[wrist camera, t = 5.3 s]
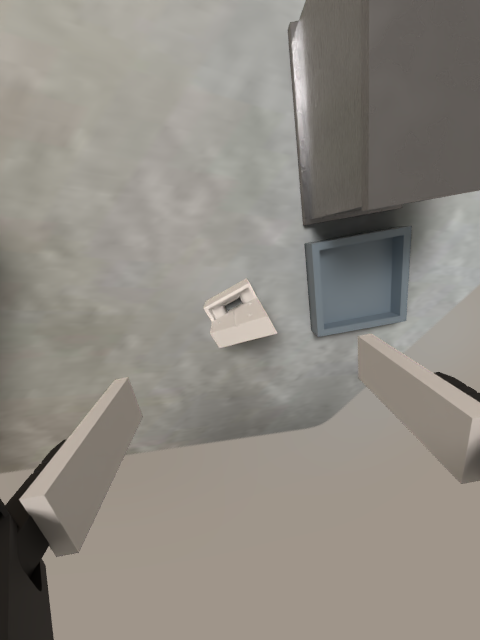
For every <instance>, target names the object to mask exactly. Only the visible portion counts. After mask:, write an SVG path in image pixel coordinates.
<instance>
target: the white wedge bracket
mask: <svg viewBox="0 0 480 640" xmlns="http://www.w3.org/2000/svg"><path fill="white" fill-rule="evenodd" d="M238 298H240V299H241V300H242V302H243V303H242V304H240V305H238V306H236V307H235V308H233V309H231V310H229V311H227V309H226V308H225V305H227V304H229V303H231V302H232V301H234V300H236V299H238ZM204 310H205V311H206V313H207V315H208V316H209V318H210V319H211V321H212V325H211V331H210V334H211V335H212V337H213V339H214V340H215V342H216V343H217V345H218V346H219V348H222V347H226V346H230V345H234V344H238V343H242V342H245V341H249V340H253V339H257V338H261V337H265V336H269V335H273V334H277V332H276V330H275V328H274V326H273V324H272V322H271V321H270V319H269V317H268V315H267V313H266V312H265V310H264V308H263V306H262V305H261V303H260V301H259V300H258V298H257V296H256V294H255V292H254V290H253V289H252V287H251V285H250V283H249V281H248V280H247V278H246V279H245V280H243V281H241V282H239V283H238V284H236V285H234V286H232V287H230V288H229V289H227V290H225V291H223V292H221V293H220V294H218V295H216V296H214V297H212V298H211V299H209V300H207V301H205V305H204Z"/></svg>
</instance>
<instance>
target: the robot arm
mask: <svg viewBox="0 0 480 640" xmlns="http://www.w3.org/2000/svg"><path fill="white" fill-rule="evenodd" d="M358 378H359V379H360V380H361V381H362V382H363V383H364V384H365V385H366V386H367V387H368V388H369V389H370V390H371V391H372V392H373V393H374V394H375V396H376V397H377V398H378V399H379V400H380V401H381V402H382V403H383V404H384V405H385V406H386V407H387V408H388V409H389V410H390V411H391V412H392V413H393V414H394V415H395V416H396V417H397V418H398V419H399V420H400V421H401V422H402V423H403V424H404V425H405V426H406V428H408V430H410V432H411V433H413V435H414V436H415V437H416V438H417V439H418V440H419V441H420V442H421V443H422V444H423V445H424V446H425V447H426V448H427V449H428V450H429V451H430V452H431V453H432V454H433V455H434V456H435V457H436V458H437V459H438V461H439V462H440V463H441V464H442V465H444V467H445V468H446V469H447V470H448V471H449V472H450V473H451V474H452V475H453V476H454V477H455V478H456V479H457V480H458V481H459V482H460V483H461V484H463V483H469V482H474V481H480V393H477V391H475V390H474V389H472V388H471V387H467V386H466V385H465V384H464V383H462V382H460V381H459V380H457V379H455V378H454V377H451V376H448V375H446V374H443V373H440V372H436V373H432V372H431V371H429V370H428V369H426V368H425V367H423V366H421V365H420V364H418V363H417V362H415V361H414V360H412V359H410V358H409V357H407V356H406V355H404V354H403V353H401V352H399V351H398V350H396V349H395V348H393V347H392V346H390V345H388V344H387V343H385V342H384V341H382V340H381V339H379V338H377V337H376V336H374V335H373V334H366V335H361V336H358ZM142 417H143V416H142V413H141V410H140V408H139V405H138V402H137V399H136V397H135V394H134V391H133V388H132V386H131V383H130V380H129V377H126V378H121V379H115V380H114V381H113V383H112V384H111V385H110V386H109V388H108V389H107V390H106V391H105V393H104V394H103V395H102V396H101V398H100V399H99V400H98V401H97V403H96V404H95V405H94V406H93V408H92V409H91V410H90V411H89V413H88V414H87V415H86V417H85V418H84V419H83V420H82V422H81V423H80V424H79V425H78V427H77V428H76V429H75V430H74V432H73V433H72V434H71V435H70V437H69V438H68V439H67V440H63V441H62V442H61V443H60V444H58V445H57V446H56V447H55V448H53V449H52V450H51V451H50V452H49V454H48V455H47V456H46V457H45V458H44V460H43V461H42V463H41V464H39V466H38V467H37V468H36V469H35V470H34V473H33V474H31V475H30V476H29V478H28V479H27V480H26V481H25V482H24V484H23V485H22V486H21V487H20V488H19V490H18V491H17V492H16V493H15V494H14V496H13V497H12V498H11V499H10V500H9V502H8V503H7V504H6V505H4V503H3V502H2V501H1V499H0V640H54V639H53V631H52V621H51V613H50V603H49V594H48V585H47V576H46V566H45V564H44V562H43V560H42V559H41V558H42V557H43V555H44V553H45V552H46V550H47V548H48V546H50V548H51V549H52V551H53V552H54V554H55V555H56V557H57V556H63V555H69V554H74V553H79V551H80V549H81V547H82V544H83V542H84V540H85V538H86V536H87V534H88V532H89V530H90V528H91V526H92V523H93V521H94V519H95V517H96V515H97V513H98V511H99V509H100V507H101V504H102V502H103V500H104V498H105V496H106V494H107V492H108V489H109V487H110V485H111V483H112V481H113V479H114V477H115V475H116V473H117V470H118V468H119V466H120V464H121V462H122V460H123V458H124V456H125V453H126V451H127V449H128V447H129V445H130V443H131V441H132V439H133V437H134V434H135V432H136V430H137V428H138V426H139V424H140V422H141V420H142Z"/></svg>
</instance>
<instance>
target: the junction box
mask: <svg viewBox="0 0 480 640" xmlns="http://www.w3.org/2000/svg"><path fill="white" fill-rule="evenodd" d="M288 38H289V51H290V64H291V76H292V89H293V102H294V115H295V128H296V140H297V153H298V166H299V179H300V192H301V204H302V217H303V225H309V224H314V223H320V222H326V221H331V220H337V219H343V218H348V217H354V216H359V215H365V214H371V213H376V212H382V211H387V210H393V209H399V208H402V204H406V203H412V202H417V201H423V200H428V199H434V198H440V197H445V196H451V195H456V194H462V193H468V192H473V191H479V190H480V0H306V2H305V4H304V7H303V10H302V13H301V16H300V19H299V21H295V22H290V24H289V28H288Z"/></svg>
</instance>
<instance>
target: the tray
mask: <svg viewBox="0 0 480 640" xmlns="http://www.w3.org/2000/svg"><path fill="white" fill-rule="evenodd" d="M411 229H412V226H405V227H395V228H389V229H383V230H378V231H372V232H367V233H361V234H355V235H350V236H344V237H339V238H333V239H327V240H322V241H316V242H311V243H305V256H306V268H307V281H308V294H309V307H310V320H311V330H312V331H313V332H314V333H315V334H316V335H317V336H318V337H320V336H326V335H331V334H337V333H342V332H348V331H353V330H359V329H364V328H370V327H375V326H381V325H386V324H392V323H397V322H403V321H406V315H407V298H408V281H409V263H410V246H411Z"/></svg>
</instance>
